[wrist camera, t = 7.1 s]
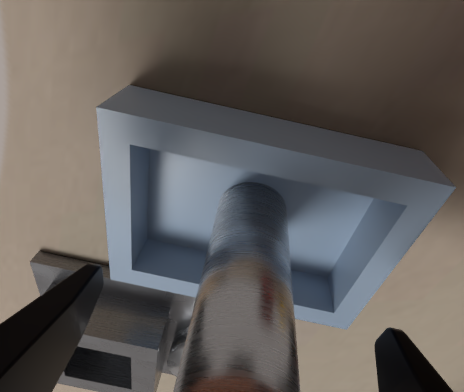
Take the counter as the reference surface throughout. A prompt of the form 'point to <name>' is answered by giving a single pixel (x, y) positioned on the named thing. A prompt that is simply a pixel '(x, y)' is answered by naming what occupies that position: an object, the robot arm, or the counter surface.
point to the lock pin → (244, 301)
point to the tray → (266, 172)
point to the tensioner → (121, 331)
